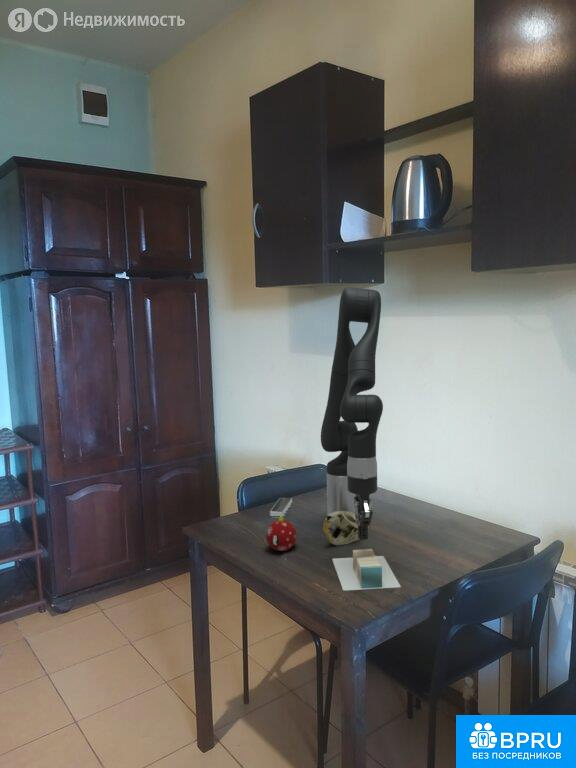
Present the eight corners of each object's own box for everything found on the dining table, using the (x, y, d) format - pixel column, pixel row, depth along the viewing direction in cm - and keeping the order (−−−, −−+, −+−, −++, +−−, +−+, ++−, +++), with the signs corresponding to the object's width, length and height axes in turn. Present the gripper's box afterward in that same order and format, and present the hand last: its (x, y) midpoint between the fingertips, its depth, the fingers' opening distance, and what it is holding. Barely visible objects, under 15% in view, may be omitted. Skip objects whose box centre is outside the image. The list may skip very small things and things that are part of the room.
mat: (332, 560, 155) (332, 558, 155) (383, 557, 156) (383, 555, 156) (343, 592, 137) (343, 590, 137) (401, 589, 138) (401, 587, 138)
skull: (307, 540, 164) (314, 506, 164) (342, 540, 175) (349, 507, 175) (333, 551, 157) (340, 515, 157) (367, 550, 168) (374, 516, 169)
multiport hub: (269, 518, 189) (269, 511, 189) (280, 503, 203) (279, 497, 203) (283, 518, 188) (282, 512, 188) (292, 504, 202) (292, 498, 202)
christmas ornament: (302, 546, 165) (301, 513, 163) (288, 558, 157) (287, 523, 156) (275, 542, 168) (274, 509, 167) (261, 553, 161) (260, 518, 160)
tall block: (352, 549, 148) (361, 568, 137) (371, 548, 148) (382, 567, 137) (353, 568, 148) (361, 588, 138) (372, 567, 149) (382, 587, 138)
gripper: (343, 466, 152) (344, 530, 154) (352, 480, 138) (353, 549, 140) (371, 465, 152) (371, 528, 154) (383, 479, 139) (383, 548, 141)
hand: (362, 538), depth 147 cm, fingers closed
